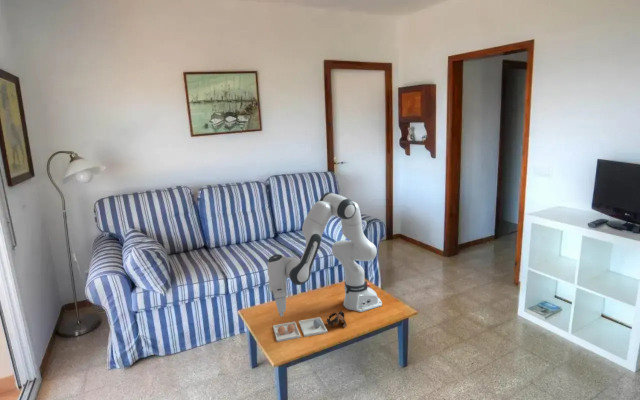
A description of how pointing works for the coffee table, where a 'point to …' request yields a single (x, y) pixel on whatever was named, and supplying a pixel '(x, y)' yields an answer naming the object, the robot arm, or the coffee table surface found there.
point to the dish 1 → (286, 332)
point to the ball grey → (317, 323)
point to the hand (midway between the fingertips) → (280, 311)
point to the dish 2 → (312, 327)
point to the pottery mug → (336, 319)
